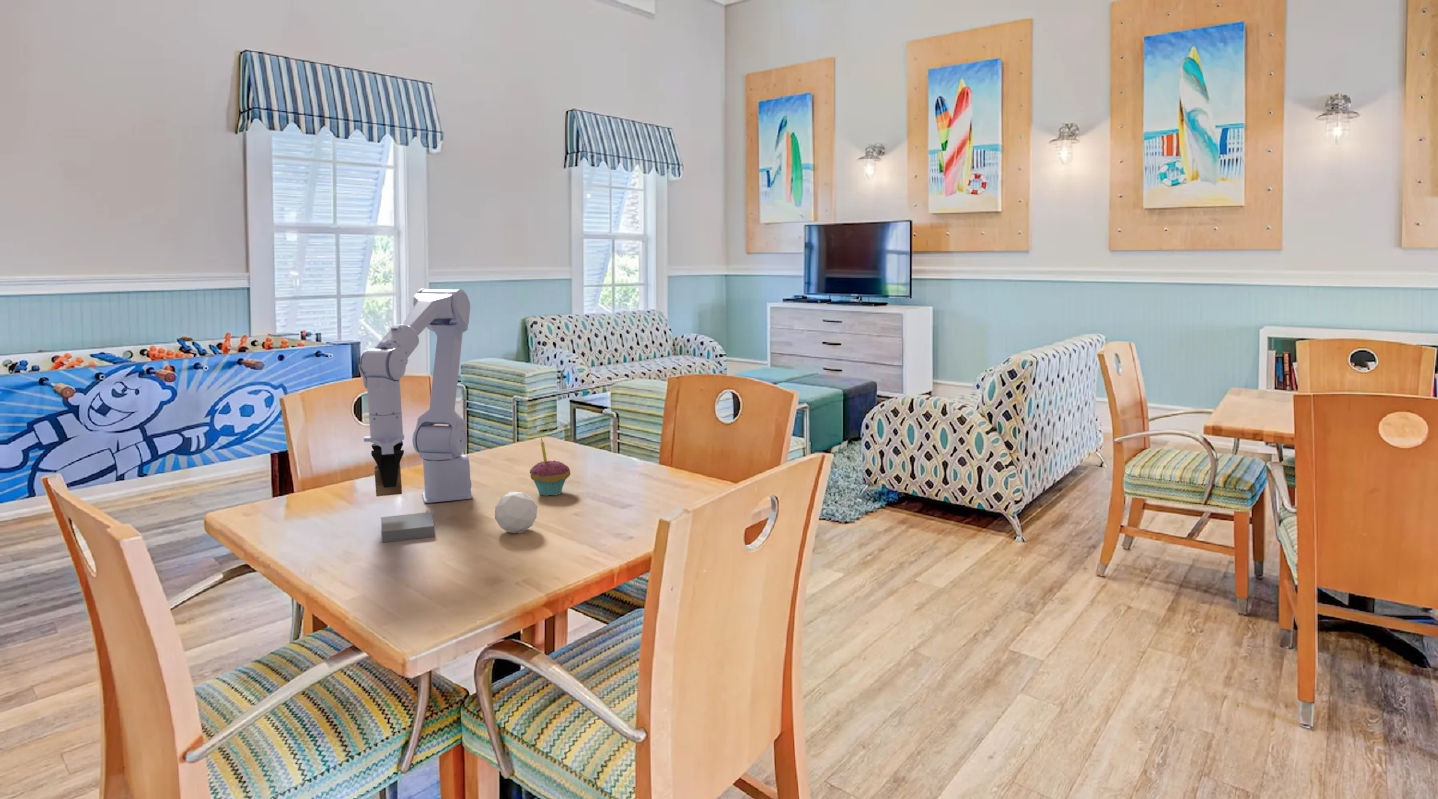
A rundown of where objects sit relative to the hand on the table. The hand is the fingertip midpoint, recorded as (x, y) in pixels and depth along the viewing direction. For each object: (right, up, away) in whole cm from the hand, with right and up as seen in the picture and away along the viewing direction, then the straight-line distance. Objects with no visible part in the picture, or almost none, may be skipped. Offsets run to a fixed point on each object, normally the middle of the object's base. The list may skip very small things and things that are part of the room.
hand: (389, 483), depth 162 cm
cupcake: (+26, -5, +24) cm, 36 cm away
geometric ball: (+24, -9, -1) cm, 26 cm away
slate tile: (+4, -9, -2) cm, 10 cm away
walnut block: (0, -2, 0) cm, 2 cm away
